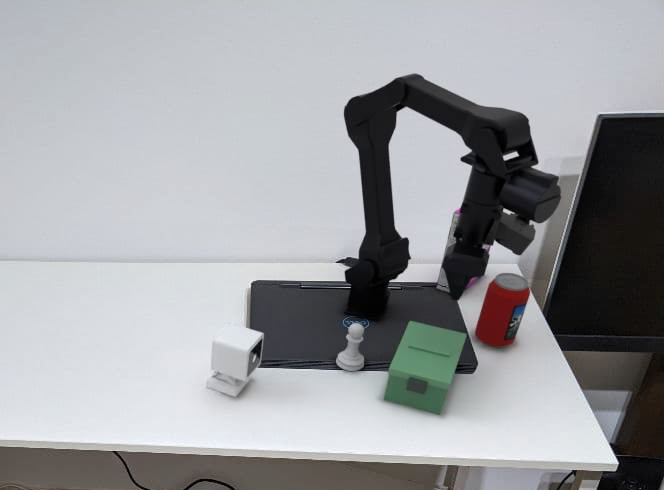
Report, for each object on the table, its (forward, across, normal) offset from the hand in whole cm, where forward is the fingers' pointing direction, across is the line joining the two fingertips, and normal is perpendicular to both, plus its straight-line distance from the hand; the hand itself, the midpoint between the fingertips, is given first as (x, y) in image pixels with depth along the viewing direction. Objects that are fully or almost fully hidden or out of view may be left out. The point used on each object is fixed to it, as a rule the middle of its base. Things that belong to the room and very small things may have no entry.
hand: (459, 286), depth 139 cm
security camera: (+14, -23, +30) cm, 40 cm away
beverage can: (+14, +9, -8) cm, 18 cm away
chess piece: (+14, -9, +14) cm, 22 cm away
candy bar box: (+14, +27, 0) cm, 30 cm away
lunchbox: (+14, -10, +2) cm, 17 cm away
